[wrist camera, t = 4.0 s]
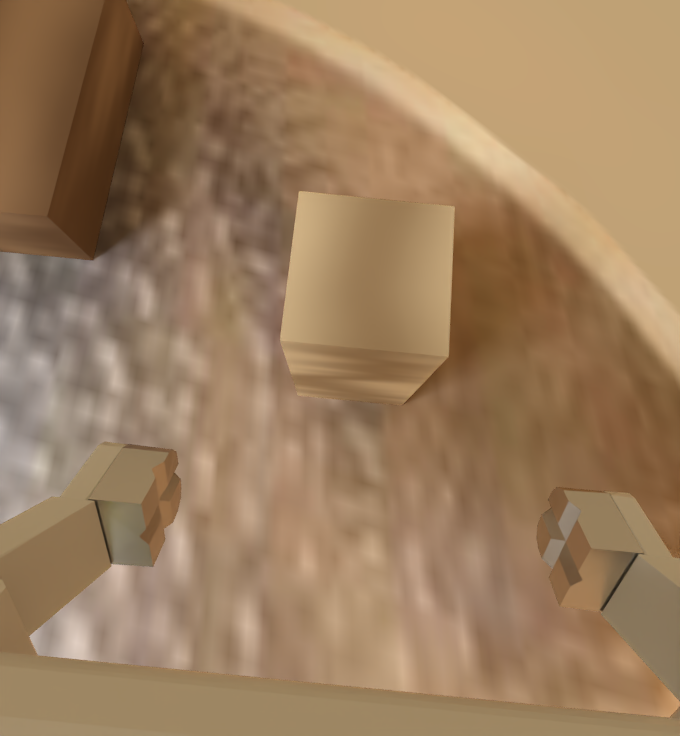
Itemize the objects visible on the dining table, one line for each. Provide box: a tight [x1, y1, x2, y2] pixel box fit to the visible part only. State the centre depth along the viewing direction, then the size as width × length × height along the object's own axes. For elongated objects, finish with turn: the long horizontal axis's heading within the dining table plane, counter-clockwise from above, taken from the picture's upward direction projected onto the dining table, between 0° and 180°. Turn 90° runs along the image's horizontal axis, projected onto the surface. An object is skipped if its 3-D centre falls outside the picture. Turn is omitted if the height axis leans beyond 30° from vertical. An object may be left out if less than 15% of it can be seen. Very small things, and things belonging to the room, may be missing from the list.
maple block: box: [280, 191, 455, 405], centre depth 17 cm, size 4×4×8 cm
